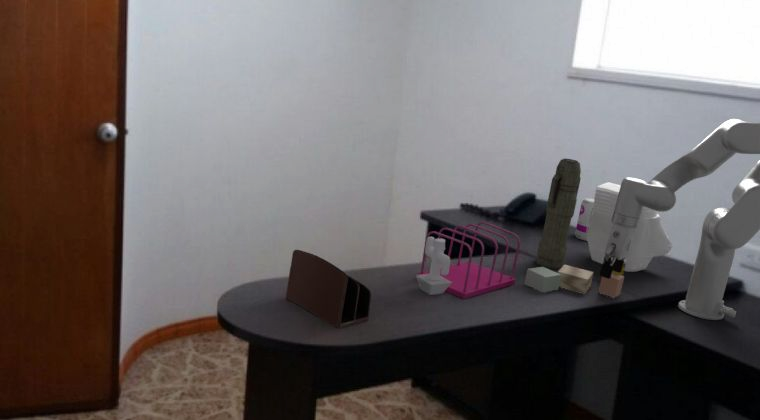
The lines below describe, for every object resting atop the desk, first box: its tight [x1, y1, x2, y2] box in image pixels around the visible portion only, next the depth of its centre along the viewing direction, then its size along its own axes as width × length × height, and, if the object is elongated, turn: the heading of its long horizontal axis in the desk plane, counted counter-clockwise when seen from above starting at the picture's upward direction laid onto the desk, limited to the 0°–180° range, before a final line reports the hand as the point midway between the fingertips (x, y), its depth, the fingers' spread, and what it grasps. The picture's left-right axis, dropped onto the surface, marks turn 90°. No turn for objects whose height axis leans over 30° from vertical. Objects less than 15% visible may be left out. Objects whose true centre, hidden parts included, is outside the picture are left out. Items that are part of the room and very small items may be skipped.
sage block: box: [524, 266, 561, 293], centre depth 223 cm, size 7×7×5 cm
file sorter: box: [416, 221, 521, 300], centre depth 217 cm, size 17×25×16 cm
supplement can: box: [574, 197, 594, 242], centre depth 285 cm, size 8×8×15 cm
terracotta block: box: [598, 273, 625, 297], centre depth 225 cm, size 5×5×6 cm
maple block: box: [557, 264, 595, 294], centre depth 228 cm, size 9×9×5 cm
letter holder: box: [285, 249, 372, 329], centre depth 182 cm, size 10×20×14 cm, turn 46°
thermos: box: [535, 158, 582, 270], centre depth 243 cm, size 9×12×35 cm
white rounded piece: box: [586, 181, 673, 273], centre depth 254 cm, size 21×27×26 cm
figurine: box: [415, 236, 452, 296], centre depth 205 cm, size 7×9×15 cm
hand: (610, 274), depth 225 cm, fingers open, 9 cm apart
